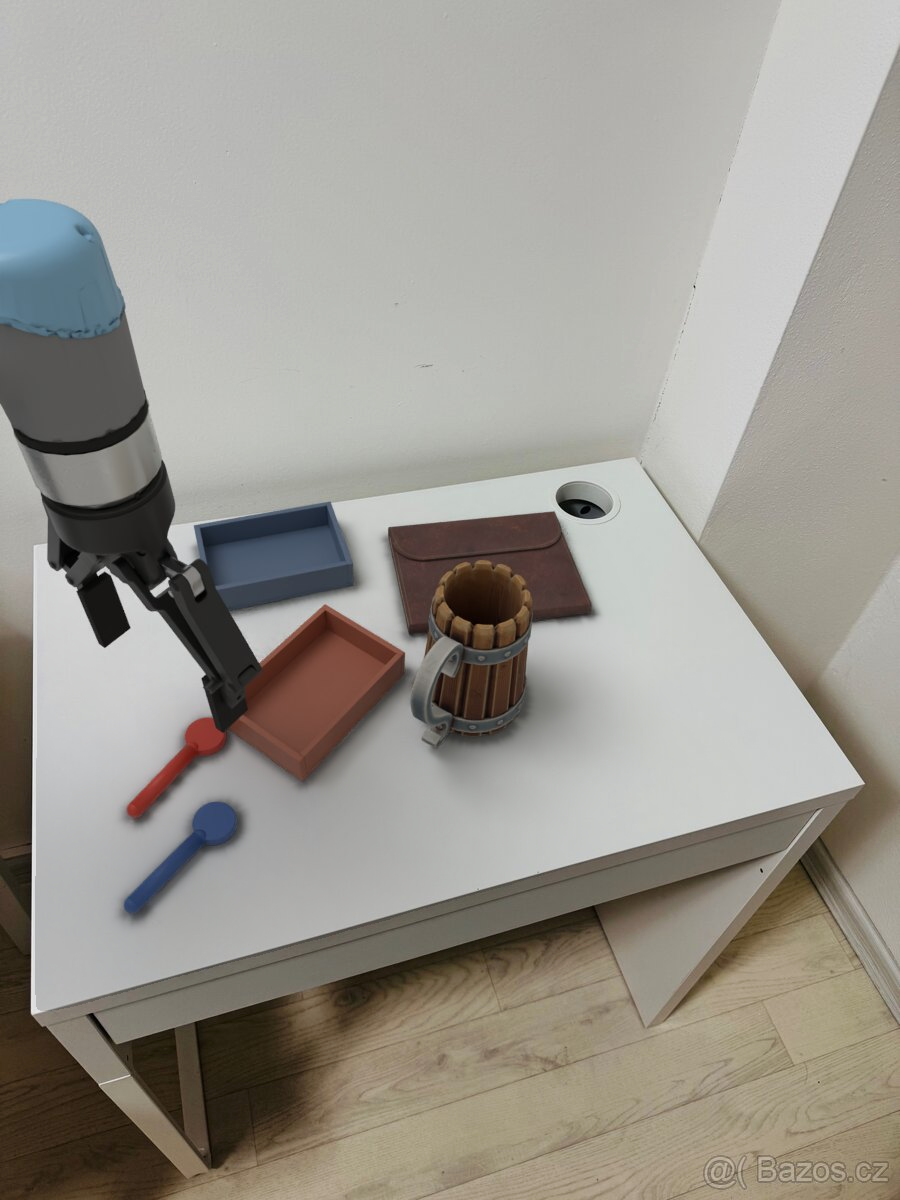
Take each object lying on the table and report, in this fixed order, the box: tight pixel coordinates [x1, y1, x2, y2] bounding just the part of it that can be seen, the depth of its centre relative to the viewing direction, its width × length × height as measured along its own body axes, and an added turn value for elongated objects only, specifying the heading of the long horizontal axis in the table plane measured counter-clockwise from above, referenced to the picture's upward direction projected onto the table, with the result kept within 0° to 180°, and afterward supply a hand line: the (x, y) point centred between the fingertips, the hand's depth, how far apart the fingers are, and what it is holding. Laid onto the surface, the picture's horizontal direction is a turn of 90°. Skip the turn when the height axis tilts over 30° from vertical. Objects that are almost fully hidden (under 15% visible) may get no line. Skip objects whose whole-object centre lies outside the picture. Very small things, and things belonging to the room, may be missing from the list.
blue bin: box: [193, 501, 354, 612], centre depth 91 cm, size 15×10×4 cm
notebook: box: [387, 510, 592, 635], centre depth 93 cm, size 15×20×2 cm
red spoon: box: [126, 716, 227, 819], centre depth 75 cm, size 11×4×1 cm, turn 149°
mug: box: [410, 560, 533, 749], centre depth 75 cm, size 16×11×15 cm
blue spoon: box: [123, 801, 238, 915], centre depth 69 cm, size 11×4×1 cm, turn 145°
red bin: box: [227, 603, 406, 783], centre depth 80 cm, size 15×10×4 cm
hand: (171, 676), depth 68 cm, fingers open, 13 cm apart
